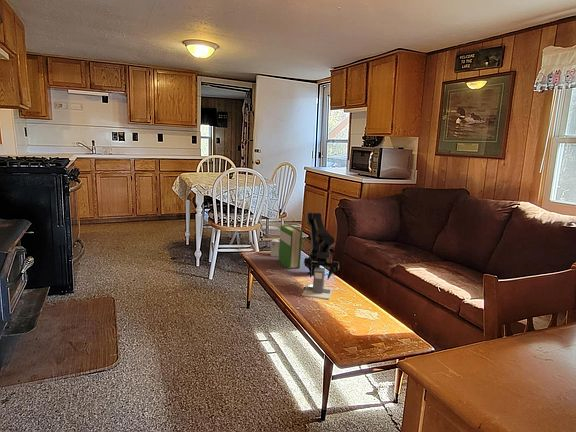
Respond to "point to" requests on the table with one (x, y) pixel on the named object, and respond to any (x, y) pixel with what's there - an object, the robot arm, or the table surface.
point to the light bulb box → (275, 247)
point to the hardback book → (290, 246)
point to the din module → (318, 280)
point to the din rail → (322, 290)
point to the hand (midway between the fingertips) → (319, 278)
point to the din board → (318, 295)
